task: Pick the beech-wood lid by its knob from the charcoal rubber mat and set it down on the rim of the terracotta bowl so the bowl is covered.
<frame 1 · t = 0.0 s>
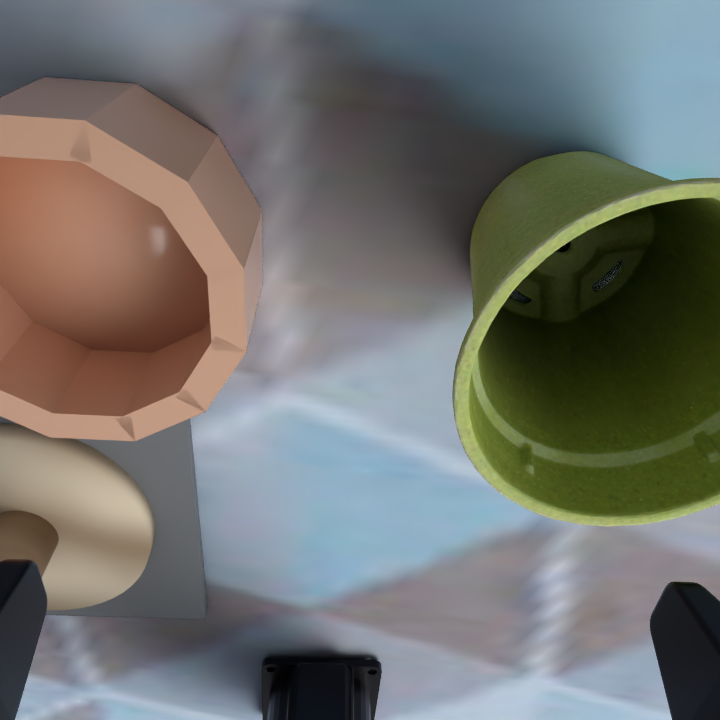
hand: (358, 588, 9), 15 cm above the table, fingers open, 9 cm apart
plant pot: (554, 235, 22), on the table
lid: (33, 516, 28), point 1 cm above the table, touching mat
bowl: (113, 238, 22), on the table
mat: (39, 506, 29), on the table
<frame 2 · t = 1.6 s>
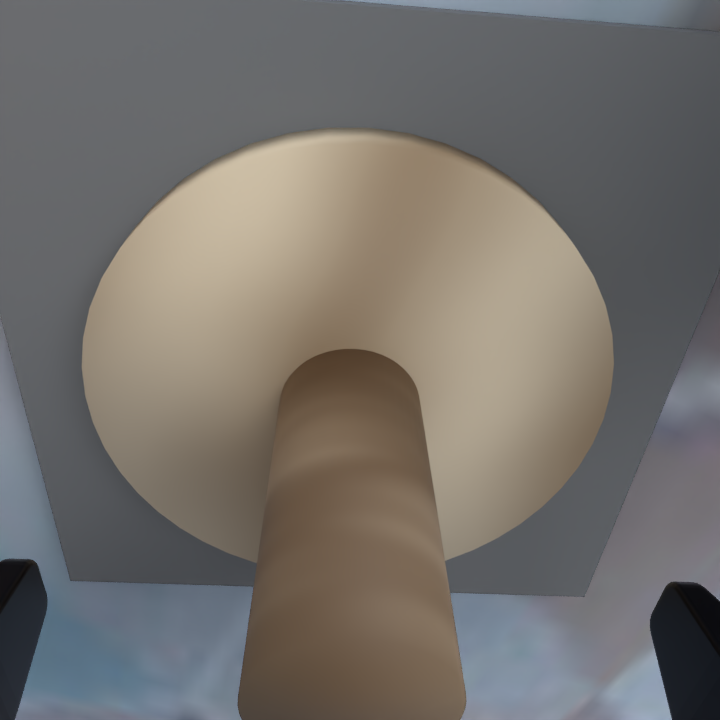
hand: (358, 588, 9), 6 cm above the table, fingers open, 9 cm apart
lid: (349, 378, 14), point 1 cm above the table, touching mat
mat: (349, 363, 14), on the table
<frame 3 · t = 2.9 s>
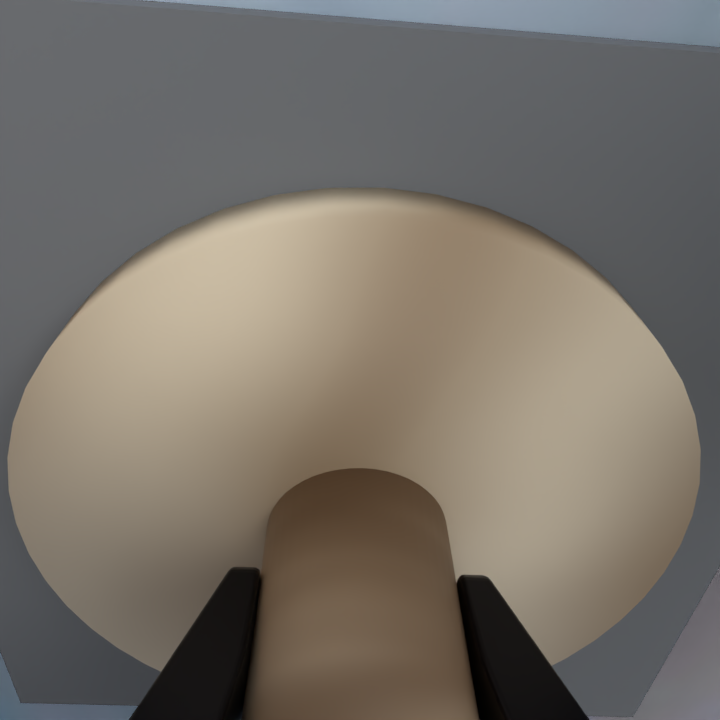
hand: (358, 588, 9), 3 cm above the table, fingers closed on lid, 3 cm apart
lid: (356, 488, 11), point 1 cm above the table, touching gripper, mat
mat: (355, 464, 11), on the table
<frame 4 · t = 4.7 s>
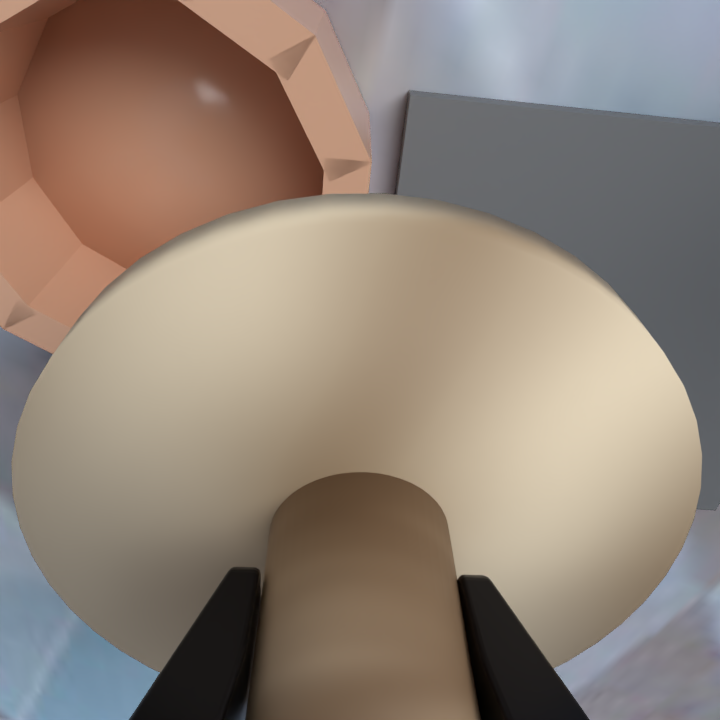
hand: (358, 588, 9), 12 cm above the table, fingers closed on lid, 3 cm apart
lid: (358, 492, 11), point 10 cm above the table, touching gripper
bowl: (185, 144, 18), on the table
mat: (588, 335, 21), on the table
when the fingers open (8 cm above the table, at t = 6.4 s): lid drops 1 cm, resting on bowl.
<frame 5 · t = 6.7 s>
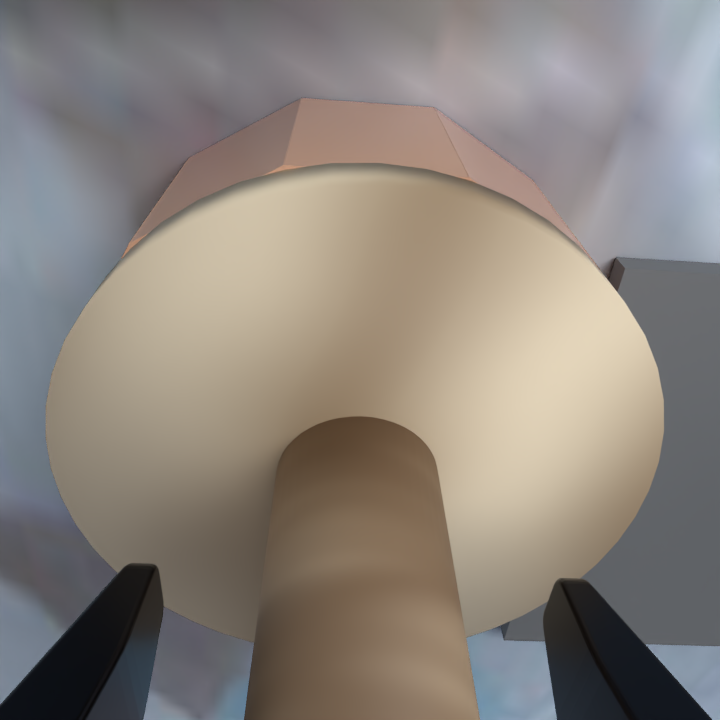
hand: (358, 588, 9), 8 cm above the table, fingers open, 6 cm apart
lid: (356, 441, 12), point 4 cm above the table, touching bowl
bowl: (352, 318, 16), on the table
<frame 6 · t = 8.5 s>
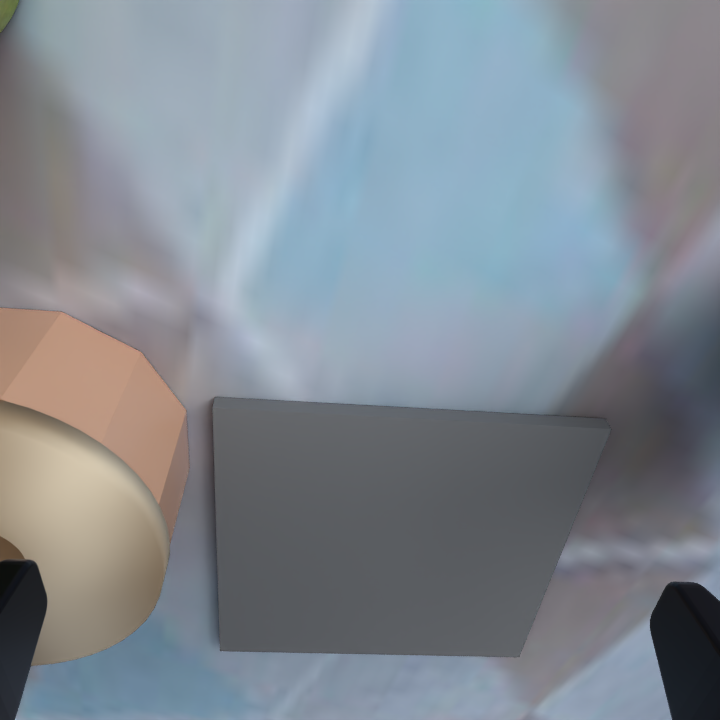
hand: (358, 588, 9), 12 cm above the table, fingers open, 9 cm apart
bowl: (43, 432, 23), on the table
mat: (390, 542, 27), on the table
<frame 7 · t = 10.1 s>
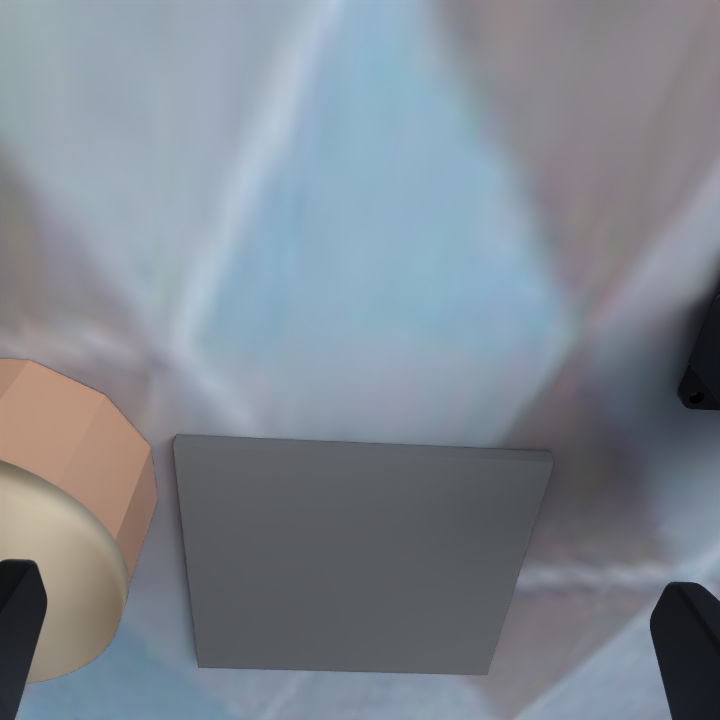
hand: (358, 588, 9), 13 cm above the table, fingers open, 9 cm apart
bowl: (21, 467, 25), on the table
mat: (353, 566, 28), on the table
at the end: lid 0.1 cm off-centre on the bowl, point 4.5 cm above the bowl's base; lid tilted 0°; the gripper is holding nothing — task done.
